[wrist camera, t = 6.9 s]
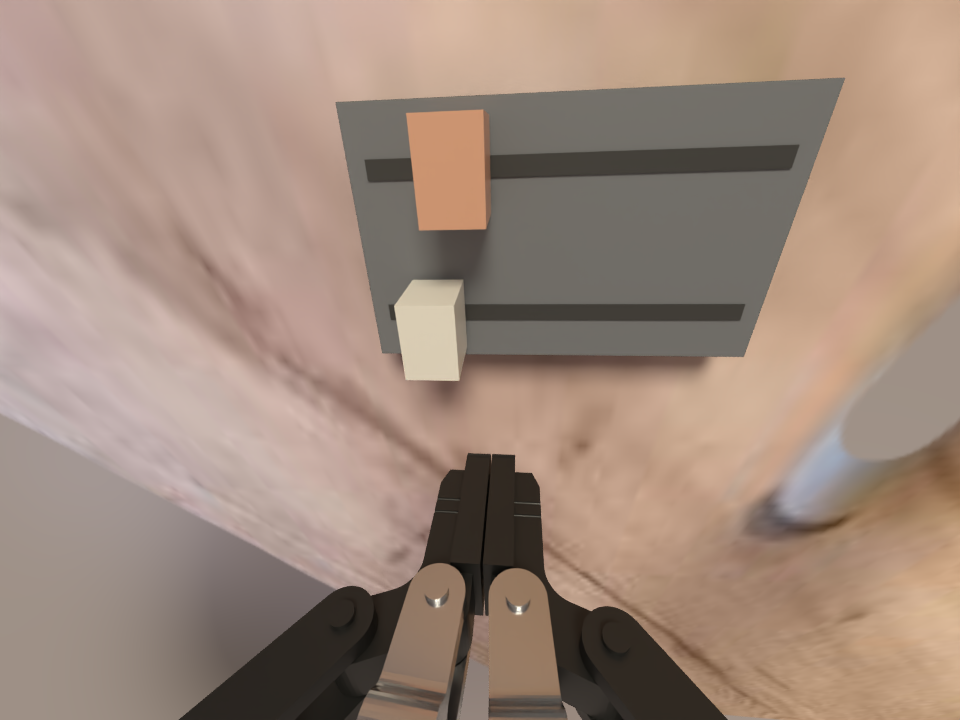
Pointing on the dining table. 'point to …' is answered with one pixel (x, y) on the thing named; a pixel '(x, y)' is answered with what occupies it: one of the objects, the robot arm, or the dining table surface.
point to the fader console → (599, 214)
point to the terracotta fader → (451, 168)
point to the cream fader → (432, 329)
